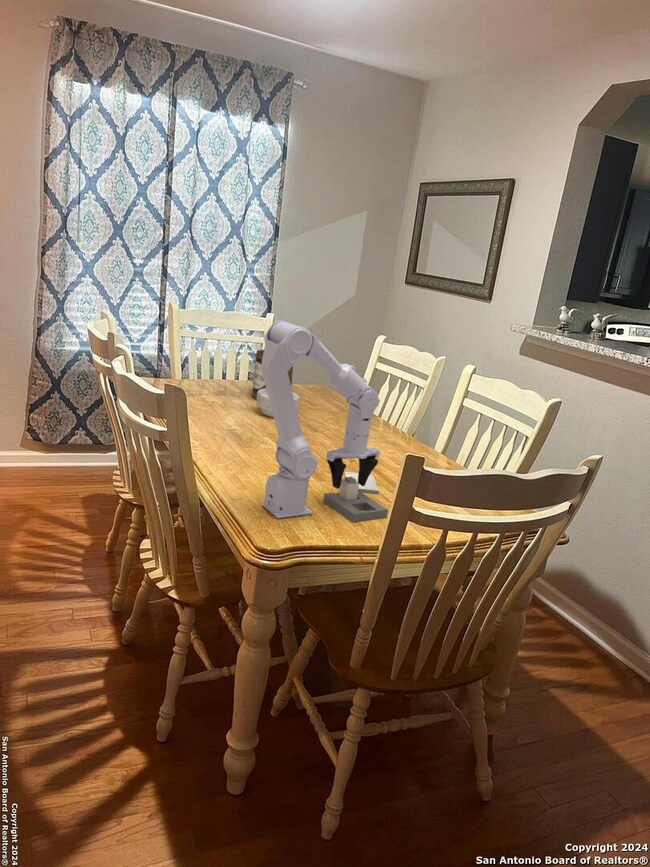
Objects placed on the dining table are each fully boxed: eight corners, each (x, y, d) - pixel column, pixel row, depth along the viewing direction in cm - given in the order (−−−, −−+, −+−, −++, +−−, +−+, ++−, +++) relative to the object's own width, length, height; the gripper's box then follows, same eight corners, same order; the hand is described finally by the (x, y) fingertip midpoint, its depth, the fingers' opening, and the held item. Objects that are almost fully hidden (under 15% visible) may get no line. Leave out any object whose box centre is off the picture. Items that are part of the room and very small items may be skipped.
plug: (345, 507, 161) (349, 481, 159) (337, 502, 163) (341, 476, 161) (355, 505, 162) (359, 480, 160) (348, 500, 165) (352, 475, 163)
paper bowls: (296, 423, 228) (298, 401, 226) (252, 417, 228) (254, 395, 226) (298, 412, 243) (301, 391, 240) (257, 406, 242) (260, 386, 240)
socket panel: (353, 522, 152) (354, 514, 152) (323, 500, 162) (324, 493, 162) (386, 517, 158) (387, 509, 157) (355, 496, 168) (356, 489, 167)
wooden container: (248, 393, 261) (254, 338, 255) (284, 395, 266) (290, 341, 260) (256, 403, 248) (262, 345, 242) (293, 405, 252) (300, 348, 246)
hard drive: (379, 490, 172) (373, 474, 184) (348, 487, 171) (344, 471, 183) (378, 496, 172) (372, 479, 184) (347, 493, 171) (343, 476, 183)
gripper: (341, 439, 151) (333, 494, 154) (390, 437, 159) (381, 489, 162) (325, 430, 156) (317, 483, 160) (373, 428, 164) (365, 479, 168)
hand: (348, 485), depth 162 cm, fingers open, 7 cm apart
